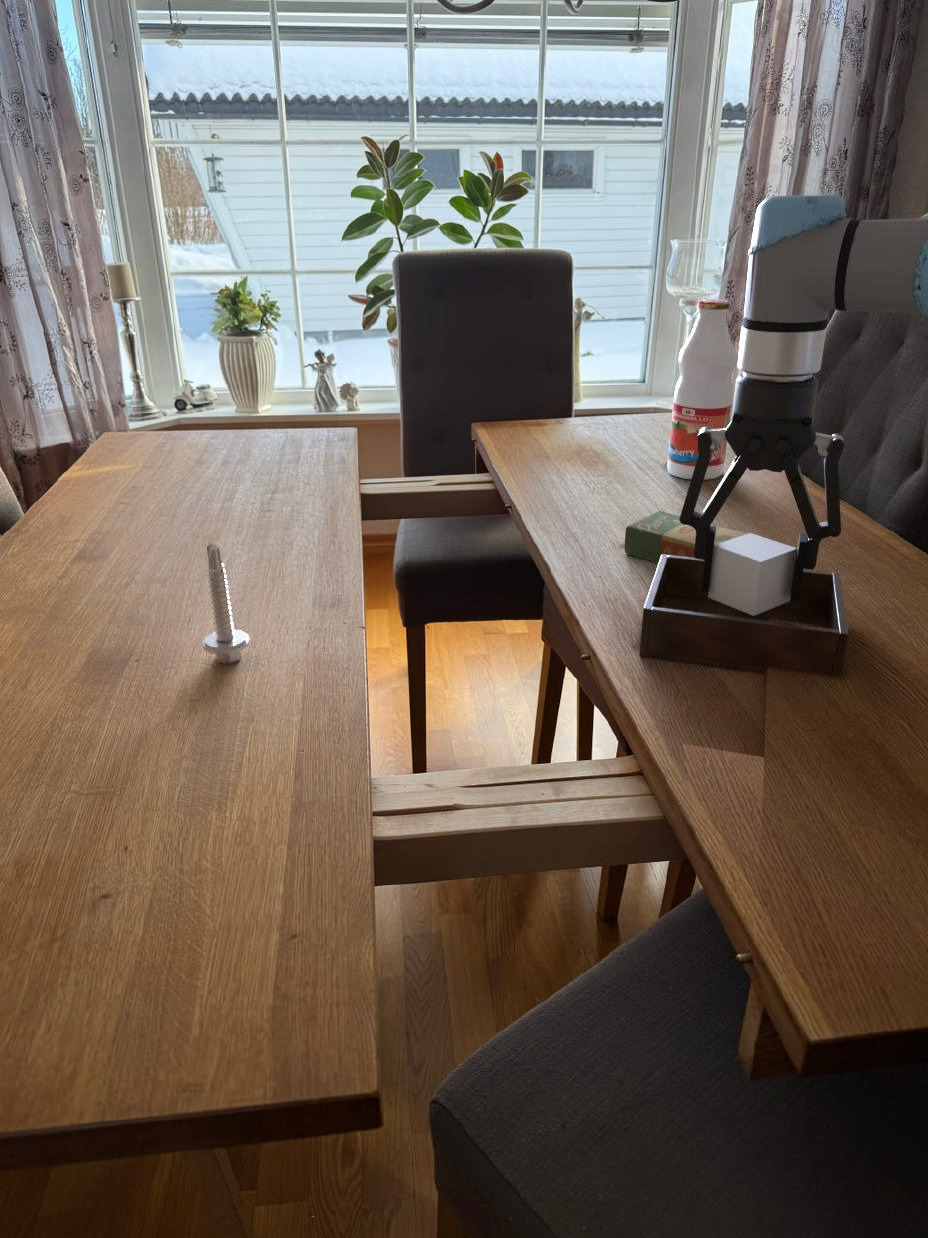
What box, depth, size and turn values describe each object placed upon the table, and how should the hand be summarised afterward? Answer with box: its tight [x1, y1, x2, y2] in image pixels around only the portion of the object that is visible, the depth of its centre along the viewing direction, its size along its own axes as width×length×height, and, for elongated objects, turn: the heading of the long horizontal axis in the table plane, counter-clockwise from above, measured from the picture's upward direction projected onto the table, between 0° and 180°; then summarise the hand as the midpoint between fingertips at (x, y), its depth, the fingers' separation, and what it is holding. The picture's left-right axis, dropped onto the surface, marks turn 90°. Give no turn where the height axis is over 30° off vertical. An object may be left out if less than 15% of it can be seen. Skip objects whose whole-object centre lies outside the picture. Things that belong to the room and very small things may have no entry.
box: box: [638, 554, 849, 677], centre depth 96 cm, size 20×16×6 cm
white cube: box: [708, 532, 797, 616], centre depth 93 cm, size 6×6×6 cm
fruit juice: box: [666, 298, 738, 481], centre depth 145 cm, size 9×9×28 cm
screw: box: [201, 542, 251, 665], centre depth 90 cm, size 13×5×5 cm
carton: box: [624, 510, 766, 564], centre depth 116 cm, size 8×16×4 cm, turn 46°
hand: (749, 591), depth 94 cm, fingers closed on white cube, 8 cm apart
